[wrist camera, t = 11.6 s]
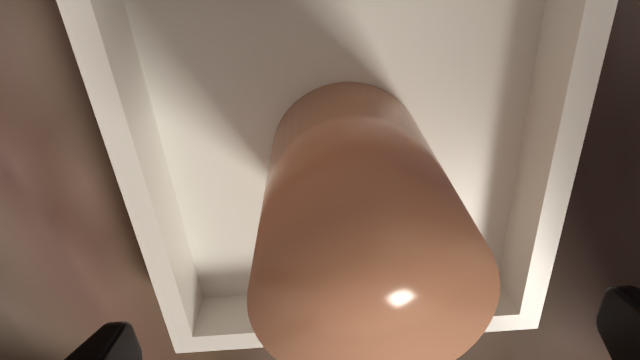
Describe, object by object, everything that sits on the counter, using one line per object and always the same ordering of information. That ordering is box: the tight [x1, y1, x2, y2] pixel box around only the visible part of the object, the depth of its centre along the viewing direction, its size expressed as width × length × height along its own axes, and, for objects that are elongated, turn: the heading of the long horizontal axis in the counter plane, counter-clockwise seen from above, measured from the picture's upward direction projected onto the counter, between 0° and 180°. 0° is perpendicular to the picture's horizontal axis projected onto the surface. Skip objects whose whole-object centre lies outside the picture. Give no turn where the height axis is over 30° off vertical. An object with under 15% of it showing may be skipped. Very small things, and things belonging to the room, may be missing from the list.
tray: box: [56, 0, 618, 353], centre depth 14 cm, size 14×14×2 cm
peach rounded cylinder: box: [247, 82, 500, 360], centre depth 12 cm, size 5×5×7 cm
